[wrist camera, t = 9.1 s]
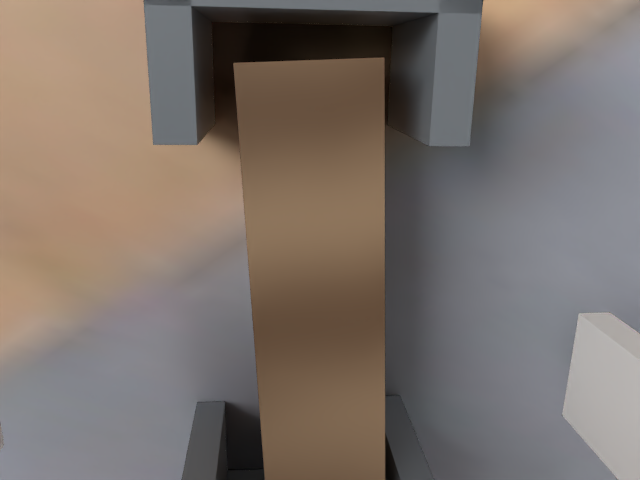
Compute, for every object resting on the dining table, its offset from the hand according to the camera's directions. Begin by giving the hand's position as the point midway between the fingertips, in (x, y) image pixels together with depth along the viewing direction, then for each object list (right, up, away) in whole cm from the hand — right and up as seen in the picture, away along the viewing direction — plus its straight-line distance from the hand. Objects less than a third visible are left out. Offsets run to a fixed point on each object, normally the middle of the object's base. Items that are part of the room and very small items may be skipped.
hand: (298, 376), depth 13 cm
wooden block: (0, +2, +7) cm, 7 cm away
